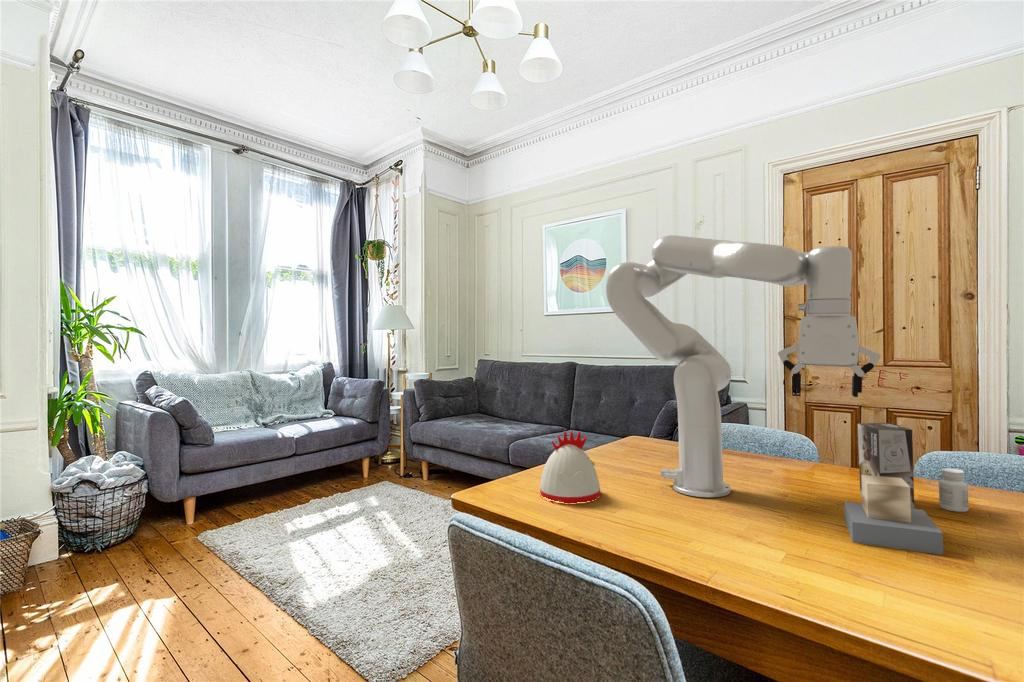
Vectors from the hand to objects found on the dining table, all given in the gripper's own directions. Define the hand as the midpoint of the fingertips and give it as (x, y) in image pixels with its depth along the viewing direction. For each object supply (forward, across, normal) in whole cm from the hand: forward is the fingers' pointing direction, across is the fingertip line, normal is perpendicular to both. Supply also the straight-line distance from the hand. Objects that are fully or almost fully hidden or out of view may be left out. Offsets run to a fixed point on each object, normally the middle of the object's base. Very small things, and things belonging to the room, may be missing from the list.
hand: (825, 394), depth 100 cm
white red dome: (+26, -50, -11) cm, 58 cm away
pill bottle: (+23, +23, +12) cm, 35 cm away
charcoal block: (+24, +10, -10) cm, 27 cm away
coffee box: (+23, +12, +12) cm, 29 cm away
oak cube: (+20, +9, -9) cm, 23 cm away
